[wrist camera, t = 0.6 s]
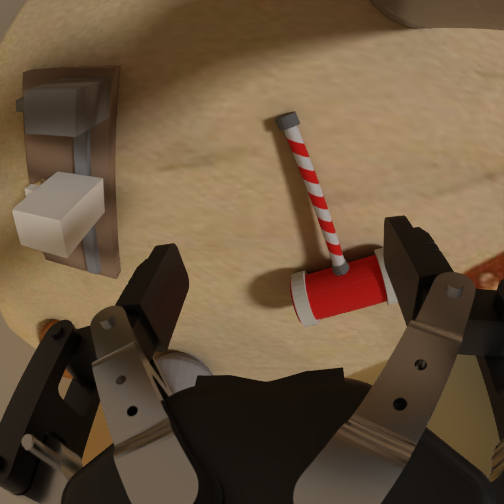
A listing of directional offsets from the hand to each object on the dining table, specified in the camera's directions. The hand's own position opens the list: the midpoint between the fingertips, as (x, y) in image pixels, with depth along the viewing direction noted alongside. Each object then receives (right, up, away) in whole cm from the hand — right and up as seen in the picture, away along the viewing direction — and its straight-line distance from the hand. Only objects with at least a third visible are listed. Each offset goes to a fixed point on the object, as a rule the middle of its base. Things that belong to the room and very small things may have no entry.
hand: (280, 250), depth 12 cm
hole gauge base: (-22, +9, +20) cm, 31 cm away
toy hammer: (+7, +2, +22) cm, 23 cm away
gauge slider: (-21, +7, +18) cm, 29 cm away
